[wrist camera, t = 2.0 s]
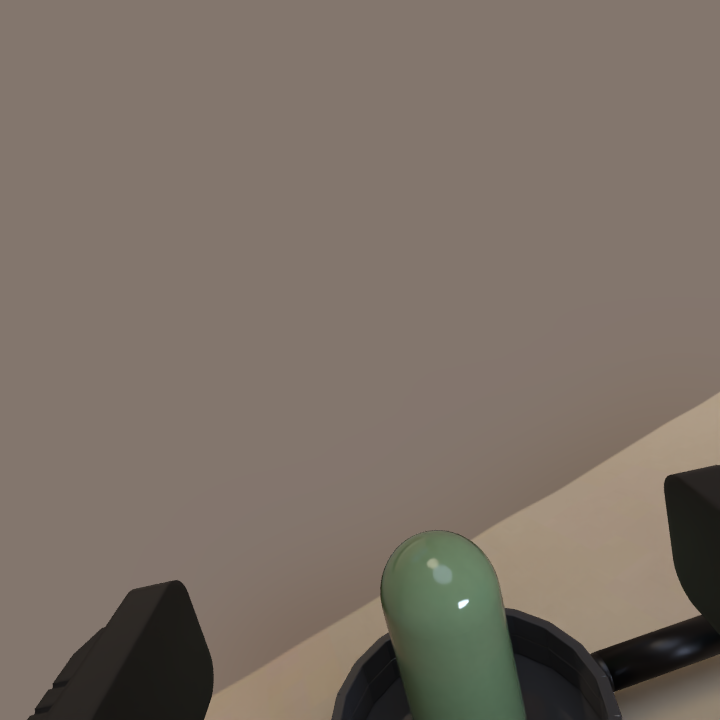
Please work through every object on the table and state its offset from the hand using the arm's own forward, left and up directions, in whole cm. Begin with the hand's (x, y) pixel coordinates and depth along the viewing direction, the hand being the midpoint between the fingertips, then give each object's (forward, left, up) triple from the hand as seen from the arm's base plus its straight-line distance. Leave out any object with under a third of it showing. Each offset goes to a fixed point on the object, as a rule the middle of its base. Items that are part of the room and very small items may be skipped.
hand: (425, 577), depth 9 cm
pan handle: (+12, +11, -16) cm, 23 cm away
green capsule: (+2, +11, -17) cm, 20 cm away
